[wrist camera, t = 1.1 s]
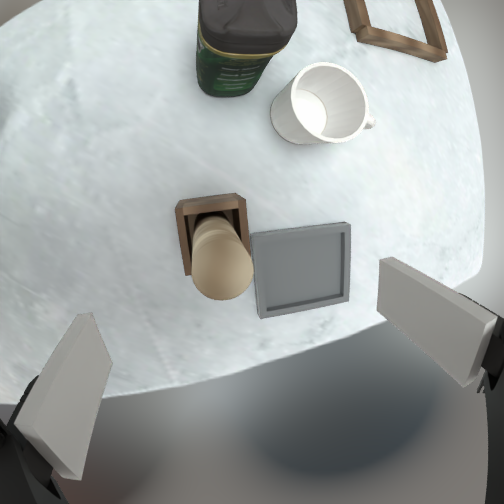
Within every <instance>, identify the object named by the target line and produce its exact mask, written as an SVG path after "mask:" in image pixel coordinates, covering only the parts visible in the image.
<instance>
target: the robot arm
mask: <svg viewBox="0 0 504 504" xmlns="http://www.w3.org/2000/svg"><path fill="white" fill-rule="evenodd" d="M377 311H378V312H379V313H380V314H381V315H382V316H384V317H385V318H386V319H387V320H388V321H389V322H391V323H392V324H393V325H394V326H395V327H396V328H398V329H399V330H400V331H401V332H402V333H404V334H405V335H406V336H407V337H408V338H409V339H410V340H412V342H414V343H415V344H416V345H417V346H418V347H419V348H420V349H422V350H423V351H424V352H425V353H426V354H427V355H428V356H429V357H430V358H432V359H433V360H434V361H435V362H436V363H437V364H438V365H439V366H441V367H442V368H443V369H444V370H445V371H446V372H447V373H448V374H449V375H450V376H451V377H453V378H454V379H455V380H456V381H457V382H458V383H459V384H460V385H461V386H462V387H465V386H466V385H468V384H470V383H471V382H472V381H474V380H475V379H476V377H477V375H478V372H479V370H480V368H481V367H483V368H484V369H485V373H484V375H483V378H482V380H481V382H480V385H479V387H478V389H477V393H479V392H480V390H481V388H482V386H484V390H483V393H485V397H486V407H487V421H488V475H487V489H486V499H485V504H504V319H503V318H502V317H500V316H498V315H497V314H495V313H493V312H492V311H490V310H489V309H487V308H485V307H484V306H482V305H479V304H478V303H477V302H475V301H472V299H470V298H469V297H467V296H465V295H463V294H460V293H457V292H456V291H454V290H452V289H450V288H449V287H447V286H445V285H443V284H442V283H440V282H438V281H436V280H435V279H433V278H431V277H429V276H427V275H425V274H424V273H422V272H420V271H418V270H416V269H414V268H413V267H411V266H409V265H407V264H405V263H403V262H401V261H399V260H397V259H396V258H394V257H388V258H384V259H380V261H379V285H378V300H377ZM112 364H113V363H112V360H111V358H110V356H109V354H108V351H107V349H106V347H105V344H104V342H103V340H102V337H101V335H100V332H99V330H98V327H97V324H96V322H95V319H94V317H93V314H92V313H86V314H78V315H77V316H76V318H75V319H74V321H73V322H72V324H71V325H70V327H69V328H68V330H67V331H66V333H65V334H64V336H63V337H62V339H61V341H60V342H59V344H58V345H57V347H56V348H55V350H54V352H53V353H52V355H51V357H50V358H49V360H48V362H47V363H46V365H45V367H44V368H43V370H42V372H41V373H40V375H37V376H36V377H35V378H34V379H33V380H32V381H31V382H30V383H29V385H28V386H27V388H26V390H25V392H24V395H22V397H21V399H20V402H19V403H18V404H17V406H16V408H15V410H14V412H13V414H12V416H11V418H10V420H9V422H8V424H7V426H6V425H5V424H4V423H3V422H2V420H1V419H0V504H69V503H68V501H67V499H66V498H65V496H64V494H63V492H62V491H61V489H60V487H59V485H58V483H57V482H56V480H55V479H54V478H53V477H52V476H51V474H52V470H53V469H55V470H56V471H57V472H58V473H59V474H60V475H61V476H62V477H63V478H69V479H75V480H81V477H82V473H83V468H84V464H85V459H86V454H87V451H88V447H89V442H90V438H91V435H92V431H93V427H94V423H95V419H96V416H97V412H98V409H99V405H100V402H101V399H102V395H103V392H104V389H105V386H106V382H107V379H108V376H109V373H110V370H111V367H112Z"/></svg>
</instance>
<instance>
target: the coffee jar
mask: <svg viewBox="0 0 504 504" xmlns="http://www.w3.org/2000/svg"><path fill="white" fill-rule="evenodd" d="M296 27H297V6H296V0H199V12H198V29H197V51H196V70H197V78H198V83H199V85H200V87H201V89H202V90H203V91H204V92H206V93H207V94H210V95H213V96H239V95H243V94H246V93H248V92H249V91H251V90H252V89H253V88H254V86H255V85H256V83H257V81H258V80H259V78H260V76H261V74H262V73H263V71H264V69H265V67H266V66H267V64H268V63H269V61H270V60H271V58H272V57H273V55H275V54H277V53H278V52H280V51H281V50H282V49H284V48H285V46H286V45H287V44H288V42H289V40H290V38H291V36H292V35H293V33H294V31H295V29H296Z"/></svg>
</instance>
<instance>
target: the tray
mask: <svg viewBox="0 0 504 504" xmlns="http://www.w3.org/2000/svg"><path fill="white" fill-rule="evenodd" d="M250 235H251V246H252V257H253V267H254V278H255V289H256V299H257V310H258V315H259V317H260V319H263V318H269V317H274V316H280V315H285V314H290V313H295V312H300V311H305V310H310V309H315V308H320V307H325V306H329V305H334V304H338V303H343V302H347V301H349V290H350V261H351V224H349V223H346V222H340V223H332V224H323V225H315V226H307V227H299V228H291V229H283V230H275V231H267V232H259V233H252V234H250Z"/></svg>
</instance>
